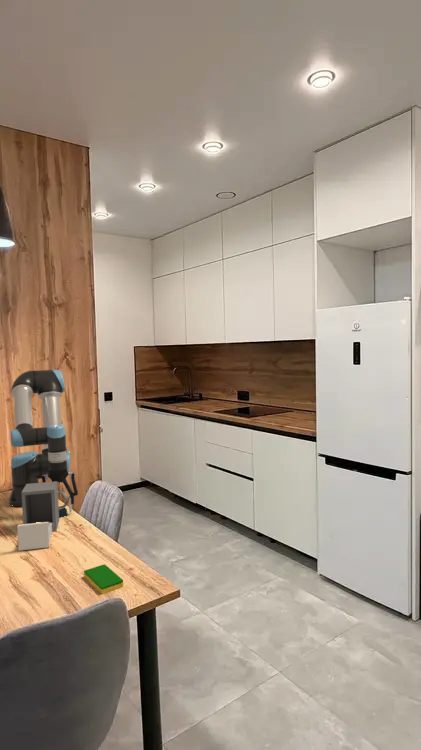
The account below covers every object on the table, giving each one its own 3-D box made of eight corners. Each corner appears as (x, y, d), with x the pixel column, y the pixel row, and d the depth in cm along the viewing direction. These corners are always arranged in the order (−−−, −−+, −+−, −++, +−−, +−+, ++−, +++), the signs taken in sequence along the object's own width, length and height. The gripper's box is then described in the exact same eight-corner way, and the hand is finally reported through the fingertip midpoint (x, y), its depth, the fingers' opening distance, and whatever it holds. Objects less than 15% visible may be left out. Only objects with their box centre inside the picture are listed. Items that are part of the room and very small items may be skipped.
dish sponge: (105, 571, 154) (104, 563, 153) (124, 587, 142) (123, 580, 142) (83, 577, 149) (83, 570, 149) (101, 595, 138) (101, 587, 138)
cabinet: (28, 523, 197) (26, 483, 196) (59, 520, 199) (57, 481, 198) (23, 534, 185) (21, 492, 184) (56, 530, 188) (54, 489, 187)
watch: (71, 515, 205) (70, 490, 205) (52, 519, 201) (51, 494, 200) (67, 511, 210) (66, 487, 209) (49, 515, 205) (47, 490, 205)
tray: (26, 533, 185) (25, 510, 185) (53, 530, 188) (52, 508, 187) (18, 550, 169) (17, 526, 169) (49, 547, 172) (48, 522, 171)
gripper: (30, 464, 198) (33, 518, 199) (82, 460, 202) (84, 513, 204) (33, 460, 205) (36, 512, 207) (83, 457, 210) (85, 507, 211)
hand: (60, 512), depth 205 cm, fingers closed on watch, 8 cm apart
